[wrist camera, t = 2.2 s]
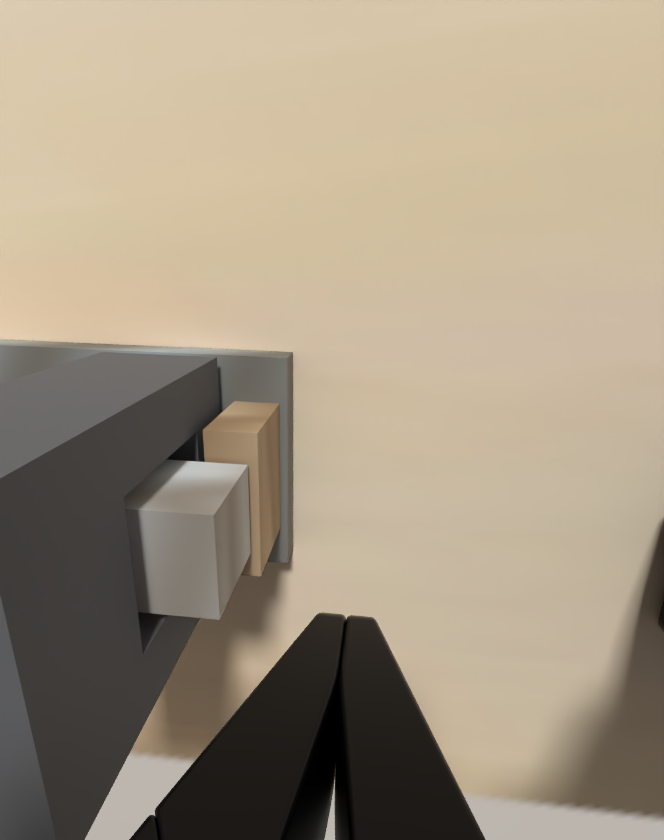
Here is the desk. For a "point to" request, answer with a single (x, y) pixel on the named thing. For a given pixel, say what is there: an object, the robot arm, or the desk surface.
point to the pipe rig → (204, 481)
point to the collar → (83, 576)
